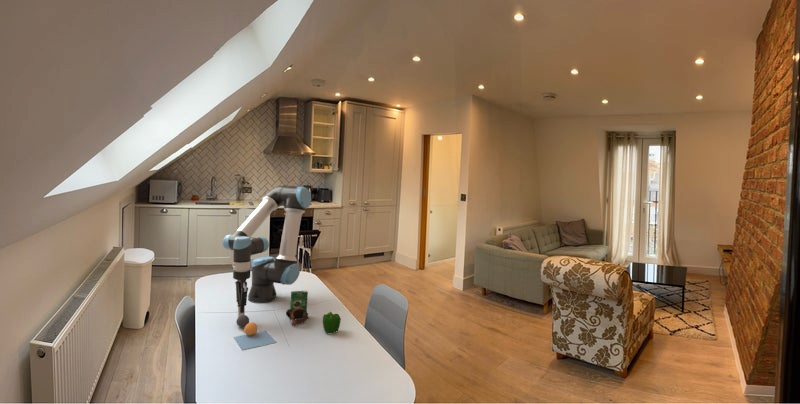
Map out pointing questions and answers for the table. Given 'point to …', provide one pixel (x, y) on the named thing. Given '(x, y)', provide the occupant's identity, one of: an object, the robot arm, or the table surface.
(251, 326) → the orange ball
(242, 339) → the blue mark
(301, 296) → the coffee box
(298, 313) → the pottery mug
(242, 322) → the black ball
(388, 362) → the table surface
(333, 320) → the bell pepper
